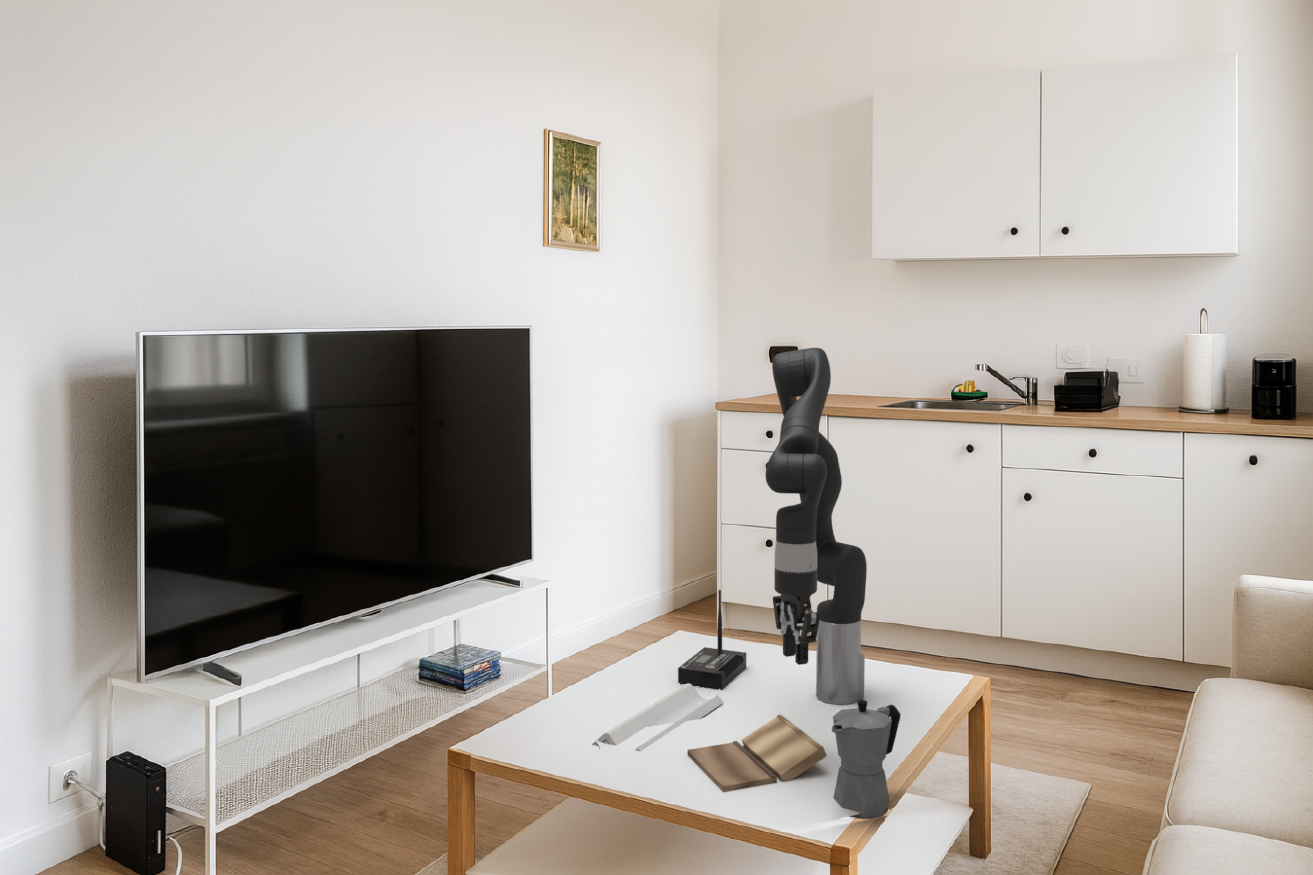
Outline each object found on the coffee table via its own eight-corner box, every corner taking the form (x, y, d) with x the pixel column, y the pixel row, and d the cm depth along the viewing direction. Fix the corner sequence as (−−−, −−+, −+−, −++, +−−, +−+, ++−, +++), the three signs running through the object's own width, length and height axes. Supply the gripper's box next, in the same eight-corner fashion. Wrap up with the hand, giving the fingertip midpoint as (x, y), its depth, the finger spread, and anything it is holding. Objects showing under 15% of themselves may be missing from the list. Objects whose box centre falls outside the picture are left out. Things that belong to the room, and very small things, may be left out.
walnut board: (737, 751, 188) (737, 740, 188) (776, 788, 173) (776, 775, 173) (687, 760, 185) (687, 748, 185) (723, 797, 170) (723, 785, 170)
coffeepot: (854, 829, 159) (855, 718, 157) (811, 806, 167) (812, 700, 165) (919, 802, 168) (921, 696, 166) (876, 781, 175) (878, 681, 174)
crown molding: (643, 761, 186) (642, 742, 186) (590, 748, 193) (589, 729, 192) (723, 706, 213) (722, 689, 212) (673, 696, 219) (673, 680, 219)
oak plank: (745, 748, 189) (740, 739, 188) (784, 722, 191) (780, 713, 191) (785, 784, 174) (780, 774, 173) (827, 755, 176) (822, 745, 176)
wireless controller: (729, 692, 220) (729, 615, 218) (670, 683, 226) (670, 608, 224) (759, 664, 238) (759, 593, 236) (703, 657, 244) (703, 587, 242)
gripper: (834, 572, 174) (833, 669, 176) (795, 555, 188) (795, 645, 189) (795, 576, 172) (795, 674, 173) (759, 559, 185) (758, 650, 187)
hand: (795, 659), depth 181 cm, fingers open, 4 cm apart
